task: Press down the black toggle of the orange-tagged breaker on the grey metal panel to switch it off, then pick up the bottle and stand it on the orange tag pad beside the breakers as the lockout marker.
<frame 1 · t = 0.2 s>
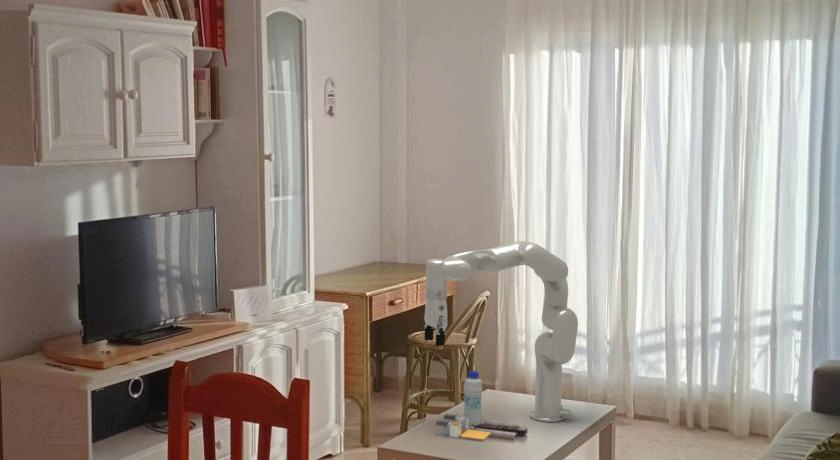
hand: (434, 342, 361), 30 cm above the table, tool pointing down, fingers open, 9 cm apart
tag pad: (475, 435, 353), resting on panel
lever a: (444, 423, 352), point 5 cm above the table, hinge at 0.0°
bottle: (472, 426, 367), on the table
panel: (464, 436, 354), on the table
lever b: (451, 417, 359), point 5 cm above the table, hinge at 0.0°
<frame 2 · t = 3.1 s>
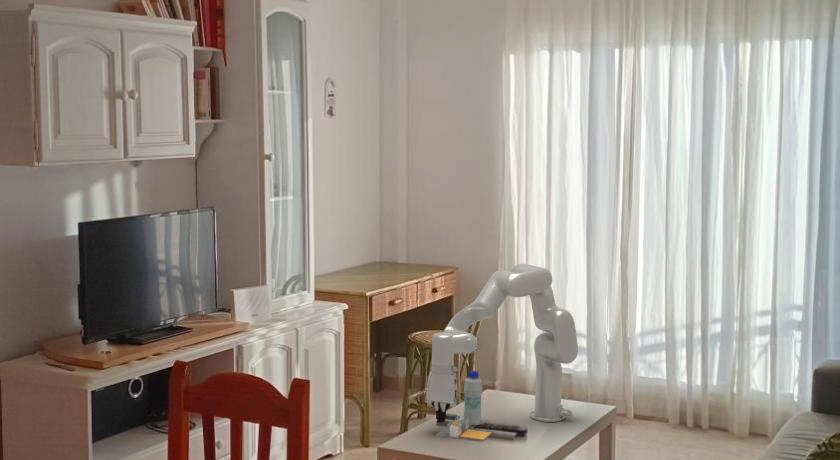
hand: (440, 421, 352), 5 cm above the table, tool pointing down, fingers closed
lever a: (444, 423, 352), point 5 cm above the table, hinge at 1.5°, touching gripper
everything else where it was.
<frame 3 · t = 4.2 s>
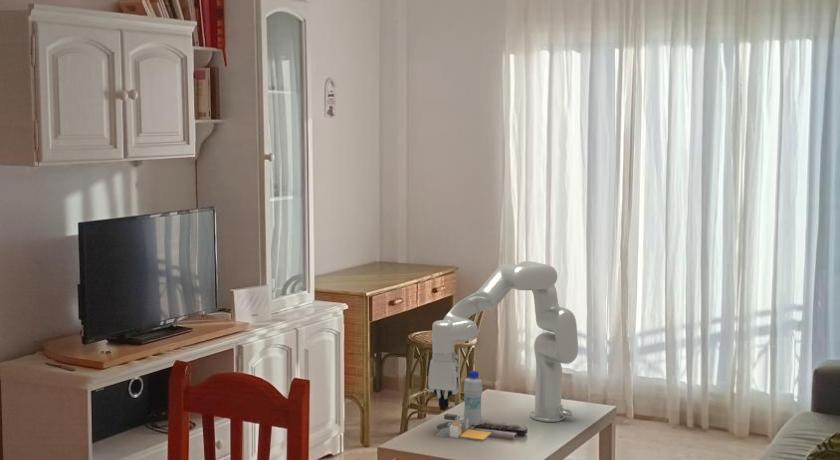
hand: (443, 409, 352), 10 cm above the table, tool pointing down, fingers closed
lever a: (444, 425, 352), point 4 cm above the table, hinge at 21.8°
everything else where it was.
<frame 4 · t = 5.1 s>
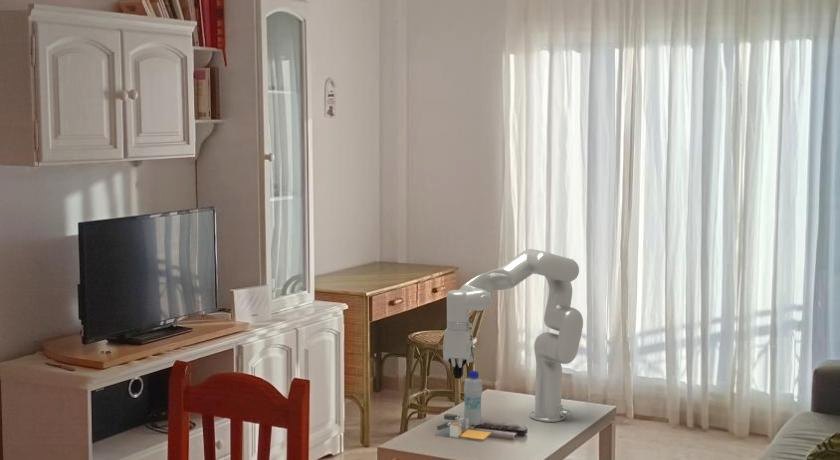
hand: (458, 377, 357), 19 cm above the table, tool pointing down, fingers closed
lever a: (444, 425, 352), point 4 cm above the table, hinge at 24.8°
everything else where it was.
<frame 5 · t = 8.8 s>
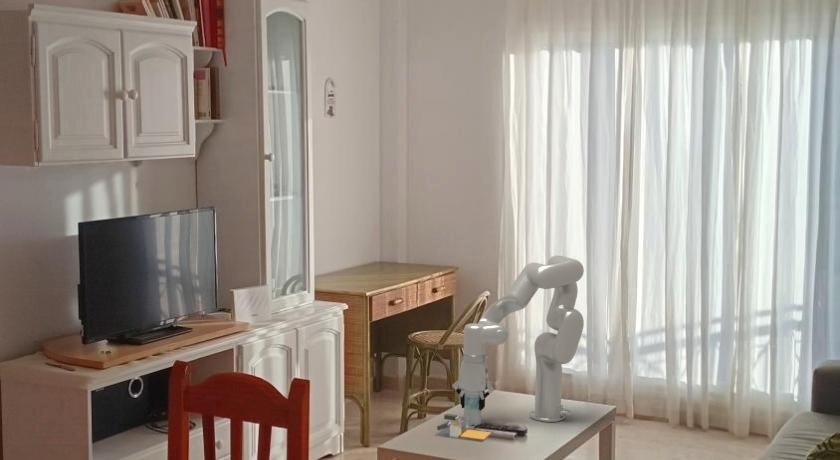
hand: (472, 407, 366), 7 cm above the table, tool pointing down, fingers closed on bottle, 5 cm apart
lever a: (444, 425, 352), point 4 cm above the table, hinge at 25.6°
bottle: (472, 426, 367), on the table, touching gripper
everything else where it was.
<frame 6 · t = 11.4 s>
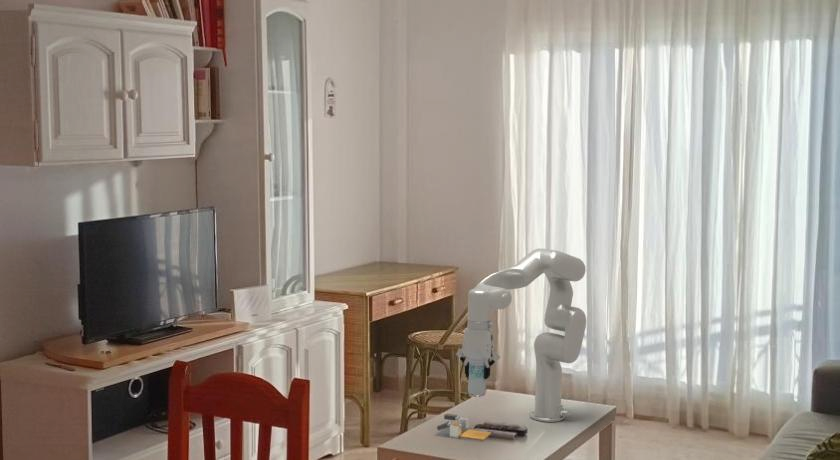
hand: (477, 376, 351), 21 cm above the table, tool pointing down, fingers closed on bottle, 5 cm apart
bottle: (476, 396, 351), point 15 cm above the table, touching gripper
everything else where it was.
when the fingers open (9 cm above the table, at t = 14.2 s): bottle stays where it is, resting on tag pad.
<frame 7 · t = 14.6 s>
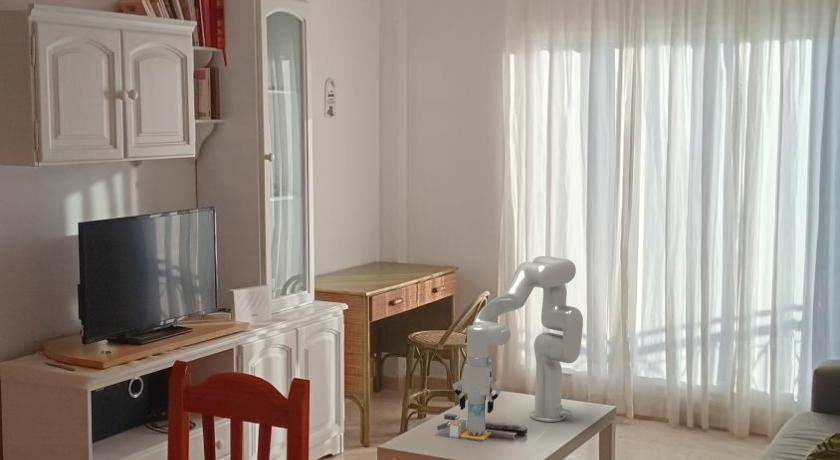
hand: (476, 410, 352), 10 cm above the table, tool pointing down, fingers open, 9 cm apart
bottle: (476, 434, 353), point 1 cm above the table, touching tag pad
everything else where it was.
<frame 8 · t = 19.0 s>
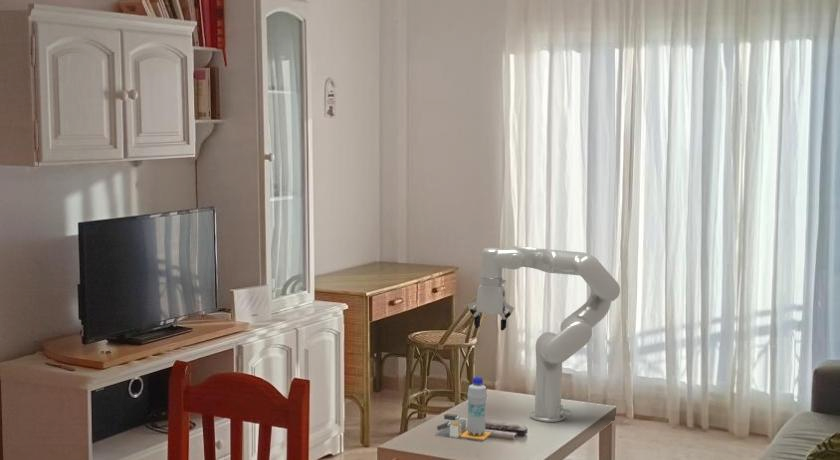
hand: (490, 328, 374), 33 cm above the table, tool pointing down, fingers open, 9 cm apart
nothing on the table moved.
at the end: lever a at +26° (first picture: +0°); bottle 0.2 cm from the tag pad (horizontally); bottle tilted 0° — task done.
